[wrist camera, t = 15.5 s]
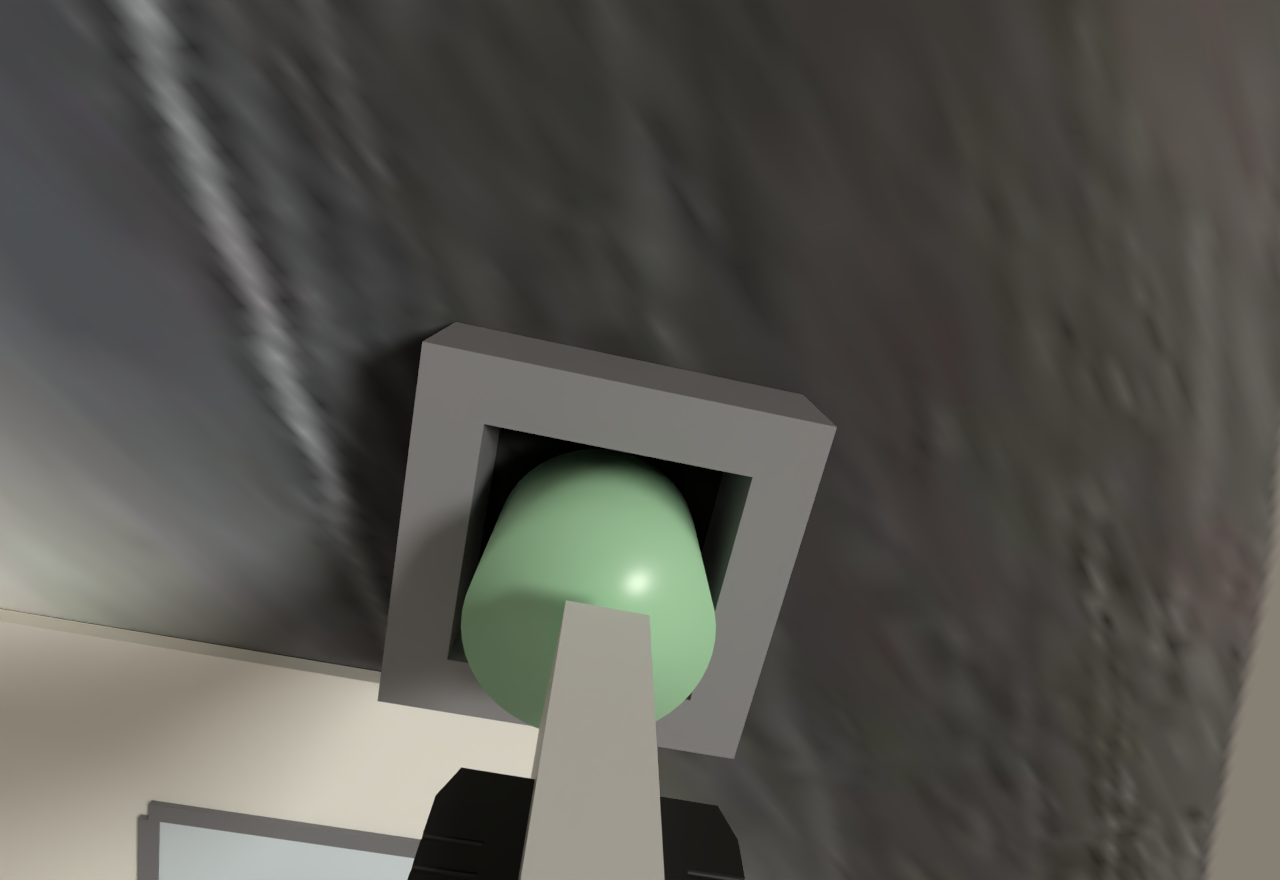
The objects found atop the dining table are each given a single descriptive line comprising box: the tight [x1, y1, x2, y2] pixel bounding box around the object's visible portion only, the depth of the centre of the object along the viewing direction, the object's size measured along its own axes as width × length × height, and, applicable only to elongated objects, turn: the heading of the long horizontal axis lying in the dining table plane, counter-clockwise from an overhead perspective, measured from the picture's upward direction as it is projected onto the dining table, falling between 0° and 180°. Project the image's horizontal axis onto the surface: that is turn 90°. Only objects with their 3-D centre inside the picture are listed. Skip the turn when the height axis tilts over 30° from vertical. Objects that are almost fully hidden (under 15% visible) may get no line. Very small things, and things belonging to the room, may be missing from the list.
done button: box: [461, 449, 716, 729], centre depth 16 cm, size 5×5×4 cm
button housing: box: [377, 322, 837, 759], centre depth 17 cm, size 9×9×3 cm
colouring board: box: [0, 609, 539, 880], centre depth 22 cm, size 20×16×1 cm
